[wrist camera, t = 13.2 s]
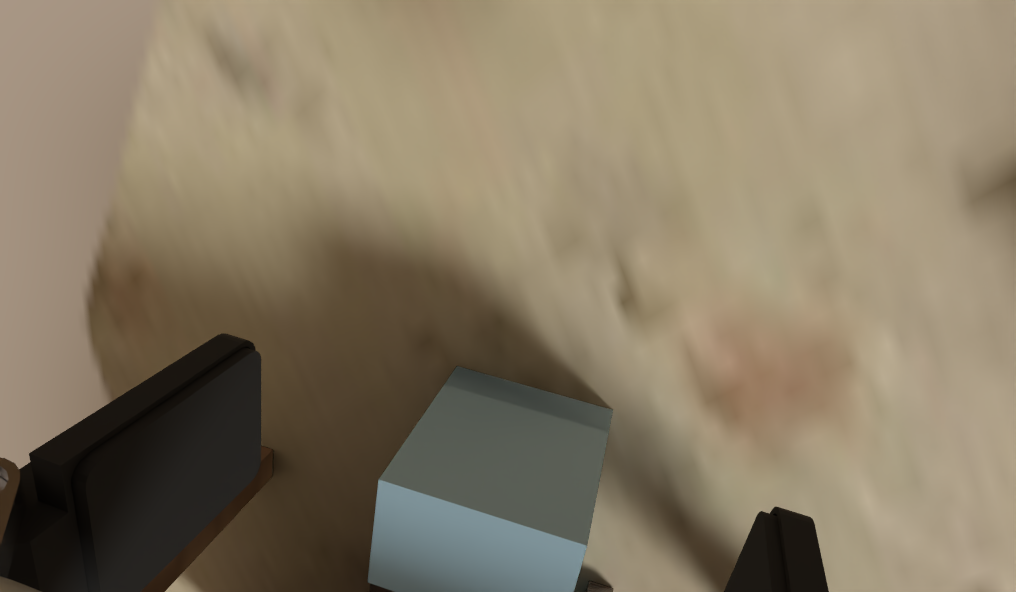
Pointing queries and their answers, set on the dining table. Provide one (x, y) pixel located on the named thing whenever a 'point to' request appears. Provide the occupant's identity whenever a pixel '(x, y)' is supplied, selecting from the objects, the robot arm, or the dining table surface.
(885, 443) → the dining table surface
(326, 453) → the dining table surface
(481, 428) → the light blue channel block
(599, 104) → the dining table surface
